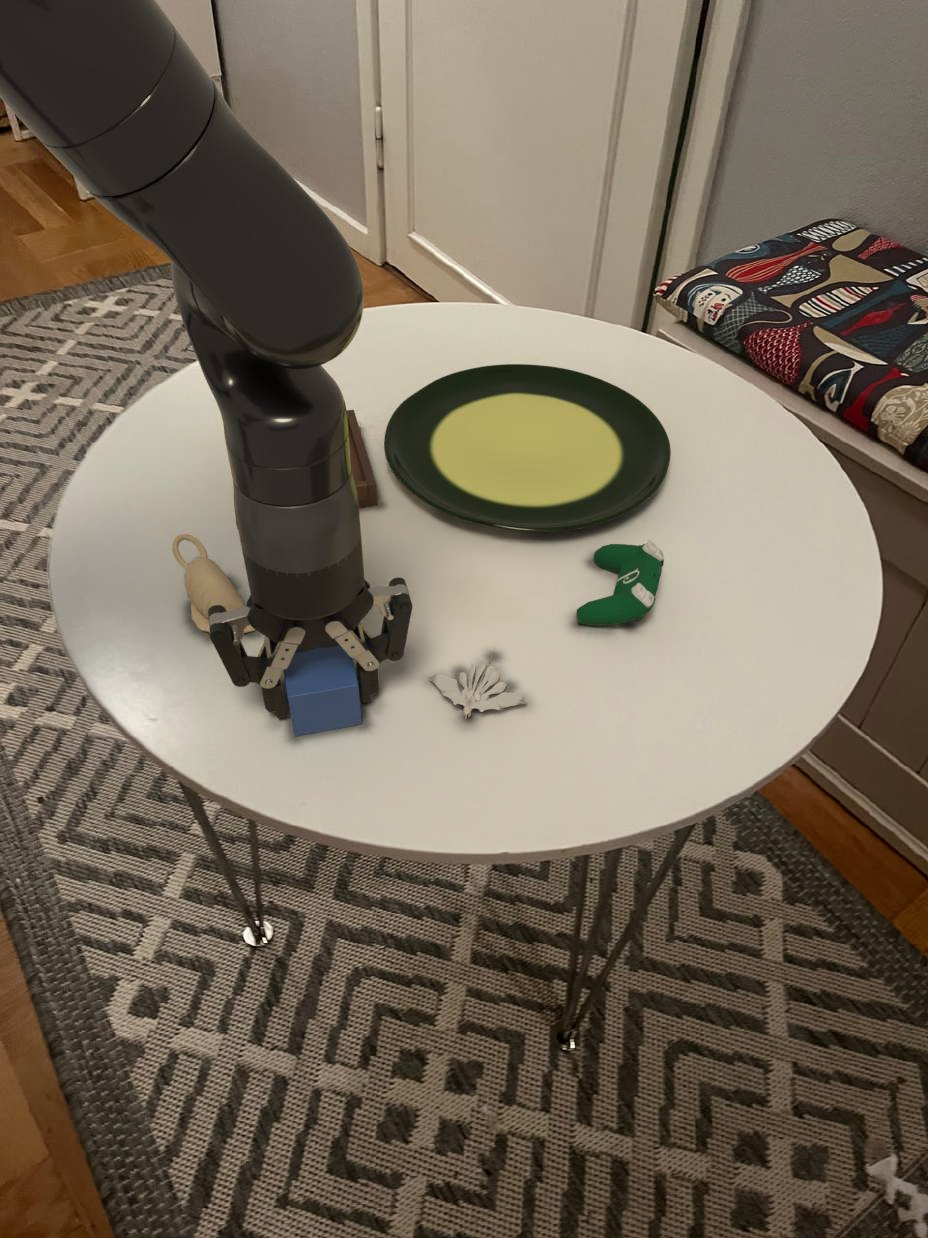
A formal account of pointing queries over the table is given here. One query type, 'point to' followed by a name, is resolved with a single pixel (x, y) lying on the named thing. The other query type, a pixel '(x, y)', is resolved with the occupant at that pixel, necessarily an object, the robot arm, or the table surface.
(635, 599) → the green christmas stocking
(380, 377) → the table surface
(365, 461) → the tray
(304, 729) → the cube
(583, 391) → the plate
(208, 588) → the decorative ornament
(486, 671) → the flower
